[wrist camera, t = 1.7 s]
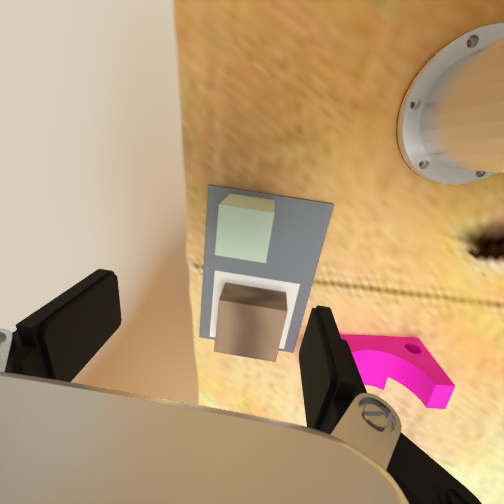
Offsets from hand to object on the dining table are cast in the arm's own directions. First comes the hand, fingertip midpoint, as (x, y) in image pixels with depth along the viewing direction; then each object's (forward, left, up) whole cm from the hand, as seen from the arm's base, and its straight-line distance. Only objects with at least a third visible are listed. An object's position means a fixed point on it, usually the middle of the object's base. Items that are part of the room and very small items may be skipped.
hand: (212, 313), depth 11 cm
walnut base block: (-2, +13, -18) cm, 22 cm away
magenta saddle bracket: (-18, +17, -19) cm, 31 cm away
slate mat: (-2, +8, -18) cm, 20 cm away
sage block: (0, 0, -18) cm, 18 cm away
